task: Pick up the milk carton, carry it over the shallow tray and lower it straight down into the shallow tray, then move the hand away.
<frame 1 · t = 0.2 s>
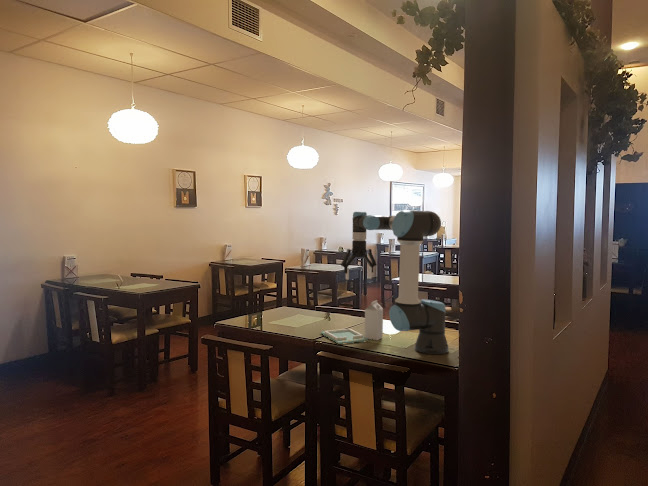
hand: (358, 279, 254), 27 cm above the table, fingers open, 13 cm apart
milk carton: (373, 338, 237), on the table
shallow tray: (343, 337, 237), on the table
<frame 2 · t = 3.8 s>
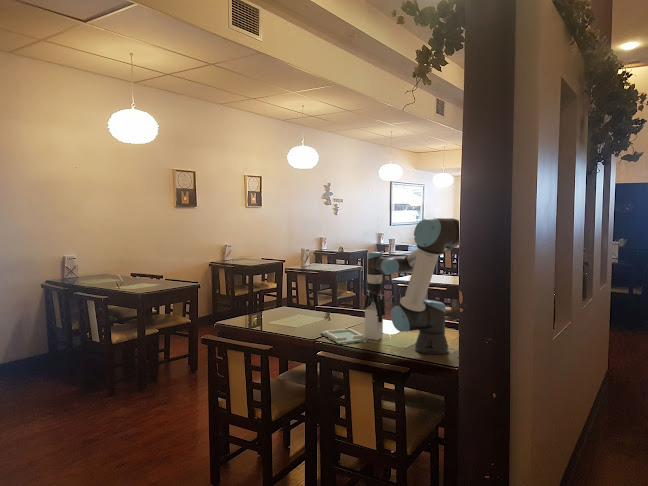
hand: (373, 326, 236), 6 cm above the table, fingers closed on milk carton, 10 cm apart
milk carton: (373, 338, 237), on the table, touching gripper
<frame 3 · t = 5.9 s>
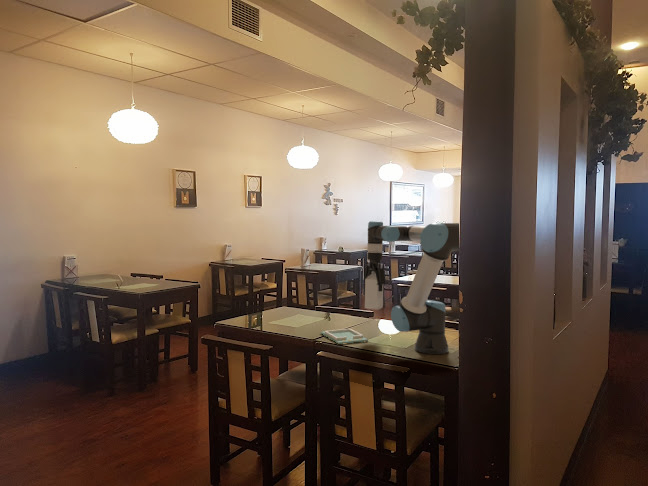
hand: (374, 295, 235), 22 cm above the table, fingers closed on milk carton, 10 cm apart
milk carton: (373, 308, 236), point 15 cm above the table, touching gripper
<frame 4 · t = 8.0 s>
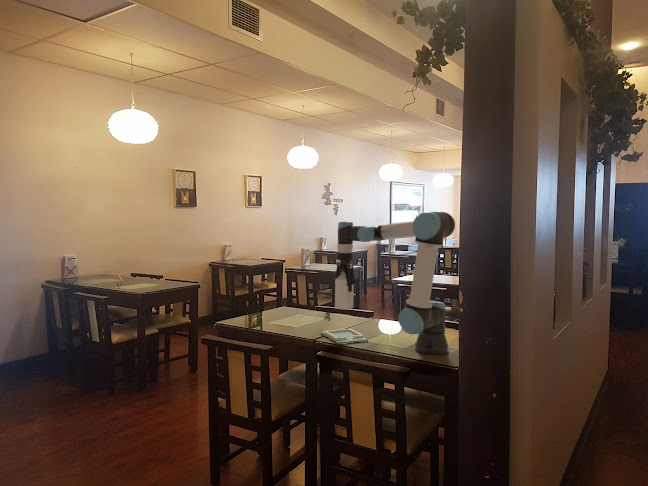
hand: (344, 296, 235), 21 cm above the table, fingers closed on milk carton, 10 cm apart
milk carton: (344, 308, 236), point 15 cm above the table, touching gripper
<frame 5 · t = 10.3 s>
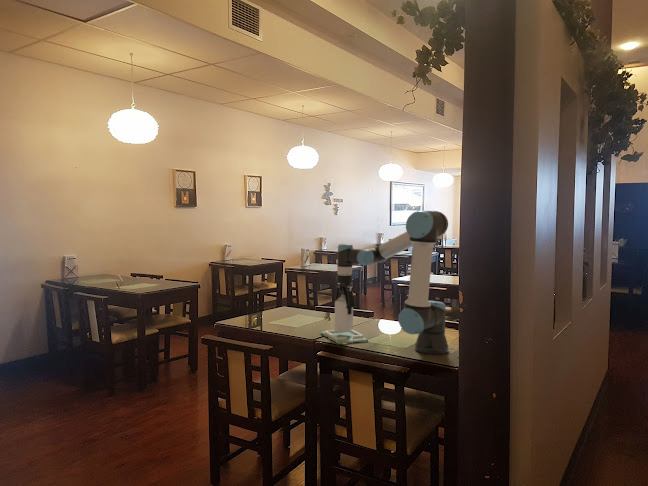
hand: (343, 318, 236), 10 cm above the table, fingers closed on milk carton, 10 cm apart
milk carton: (343, 330, 236), point 4 cm above the table, touching gripper
when the fingers open (8 cm above the table, at t = 12.1 s): milk carton stays where it is, resting on shallow tray.
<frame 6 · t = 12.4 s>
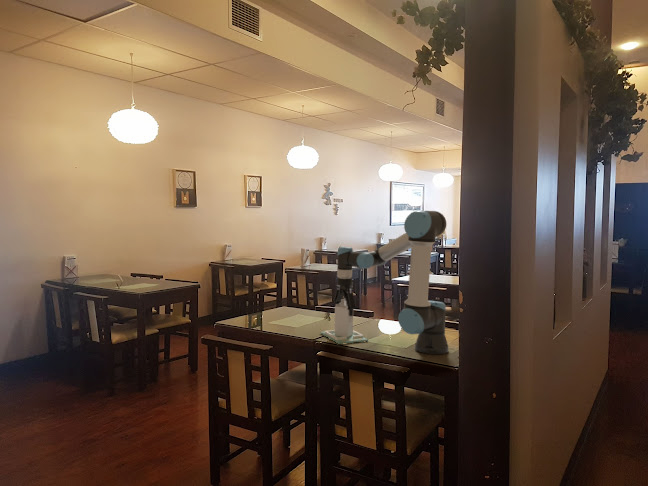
hand: (343, 319, 236), 9 cm above the table, fingers open, 13 cm apart
milk carton: (343, 335, 237), point 1 cm above the table, touching shallow tray
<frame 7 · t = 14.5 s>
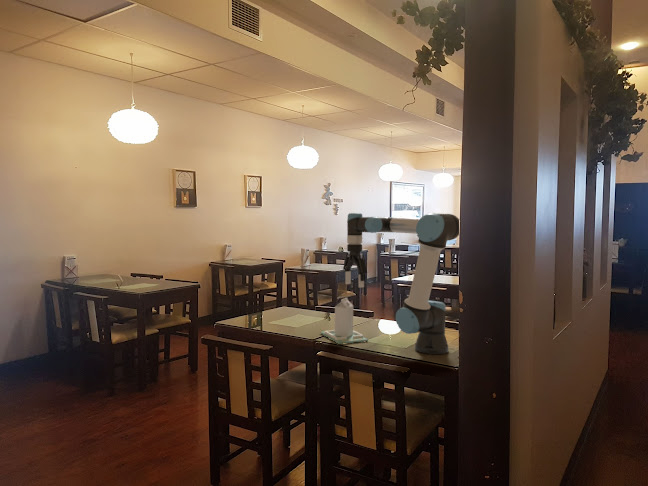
hand: (354, 285, 236), 27 cm above the table, fingers open, 13 cm apart
nothing on the table moved.
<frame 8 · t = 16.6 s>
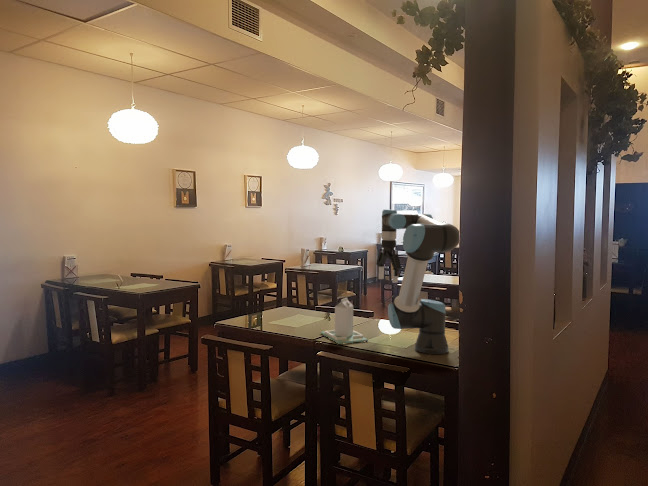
hand: (387, 280, 240), 29 cm above the table, fingers open, 13 cm apart
nothing on the table moved.
at the end: milk carton inside the target area on the shallow tray (0.1 cm from its centre), point 1.0 cm above the shallow tray's base; milk carton tilted 0°; the gripper is holding nothing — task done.
